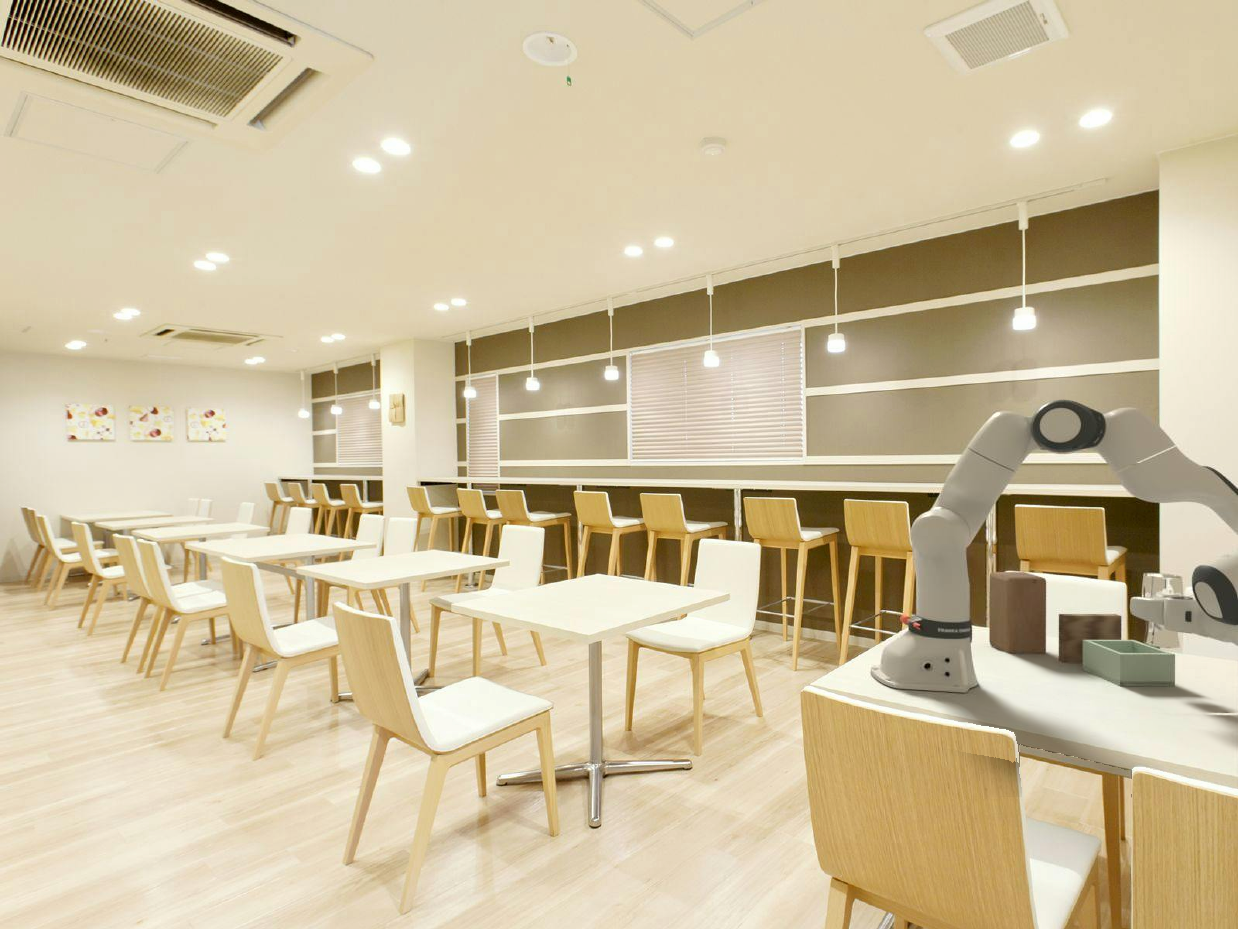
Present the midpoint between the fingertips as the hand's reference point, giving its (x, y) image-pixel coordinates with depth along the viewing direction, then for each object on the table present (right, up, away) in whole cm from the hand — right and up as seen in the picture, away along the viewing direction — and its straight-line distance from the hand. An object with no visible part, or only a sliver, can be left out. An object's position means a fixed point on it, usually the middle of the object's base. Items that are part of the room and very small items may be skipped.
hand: (1158, 601), depth 146 cm
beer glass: (0, -10, -1) cm, 10 cm away
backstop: (-1, -19, +10) cm, 22 cm away
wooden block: (-12, -20, +31) cm, 39 cm away
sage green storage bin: (-1, -19, +7) cm, 20 cm away
